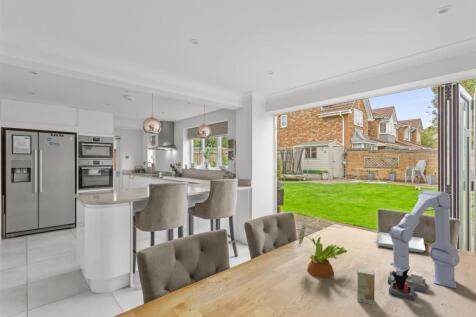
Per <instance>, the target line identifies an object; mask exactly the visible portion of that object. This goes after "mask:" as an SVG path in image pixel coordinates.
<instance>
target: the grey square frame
mask: <svg viewBox="0 0 476 317" xmlns="http://www.w3.org/2000/svg"><path fill="white" fill-rule="evenodd" d="M394 288H395V289H394ZM409 292H410V293H409ZM388 294H389V295H392V296H396V297H400V298H404V299H408V300H410V301H413V300H414V296H415V290H414V287H412V286H408V293H406V292H402V291H398V290H396V282H392V281H391V284H389V286H388Z"/></svg>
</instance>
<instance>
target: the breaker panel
mask: <svg viewBox="0 0 476 317" xmlns="http://www.w3.org/2000/svg"><path fill="white" fill-rule="evenodd" d="M407 275H408V274H407ZM391 281H392V282H396V281H395V278H394V276H393V274H392V271H391V270H390V271H389V275H388V276H387V284H389V285H390V284H391ZM406 281H408V286H412V287H414V291H417V292H422V293H425V292H426V279H425V278H422V284H420V283H416V282H412V281H411V275H408V278H407V279H406Z"/></svg>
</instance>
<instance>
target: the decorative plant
mask: <svg viewBox="0 0 476 317" xmlns="http://www.w3.org/2000/svg"><path fill="white" fill-rule="evenodd" d="M301 227H302V228H301V230H300V231H299V233H298V244H297V245H299V246H298V247H302V244H303V242H304V241H303V240H304V237H307V238H308V239H310V240H311V242H312V243H313V244H314V245H315V254H311V256H310V257H309V258H310V260H311V261H310V262H309V263H308V266H307V269H306V272H307V273H308V275H311V276H313V277H316V278H321V279H324V278H325V279H326V278H327V279H328V278H332V277H333V276H334V275H335V273H334V272H335V271H334V268H333V266H332V265H331V263H330V260H329V258H330V259H335V260H336V259H338V257H337V256H339V255H342V254H346V253H347V252H348V250H346V249H345V248H344V247H345V246H342V247H339V246H337V245H336V244H329V245H328V246H327V247H325V248H324V249H323V244H322V243H321V236H319V237H318V238H317V240H316V241H315V239H314V238H310V237H309V236H307V235H305V231H306V223H303V225H302V226H301Z"/></svg>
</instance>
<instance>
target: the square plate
mask: <svg viewBox="0 0 476 317" xmlns="http://www.w3.org/2000/svg"><path fill="white" fill-rule="evenodd" d="M374 243H375V244H376V245H377V246H380V247H384V248H388V249H389V248H390V249H393V242H392V238H391V236H390V232H389V233H388V232H382V231H381V232H380V231H379V232H378V235H377V237H376V239H375V241H374ZM426 250H427V249H426V246H425V239H424V238H423V237H417V236H412V239H411V240H410V241H409V252H412V253H413V252H415V253H420V254H421V253H424V252H426Z"/></svg>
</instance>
